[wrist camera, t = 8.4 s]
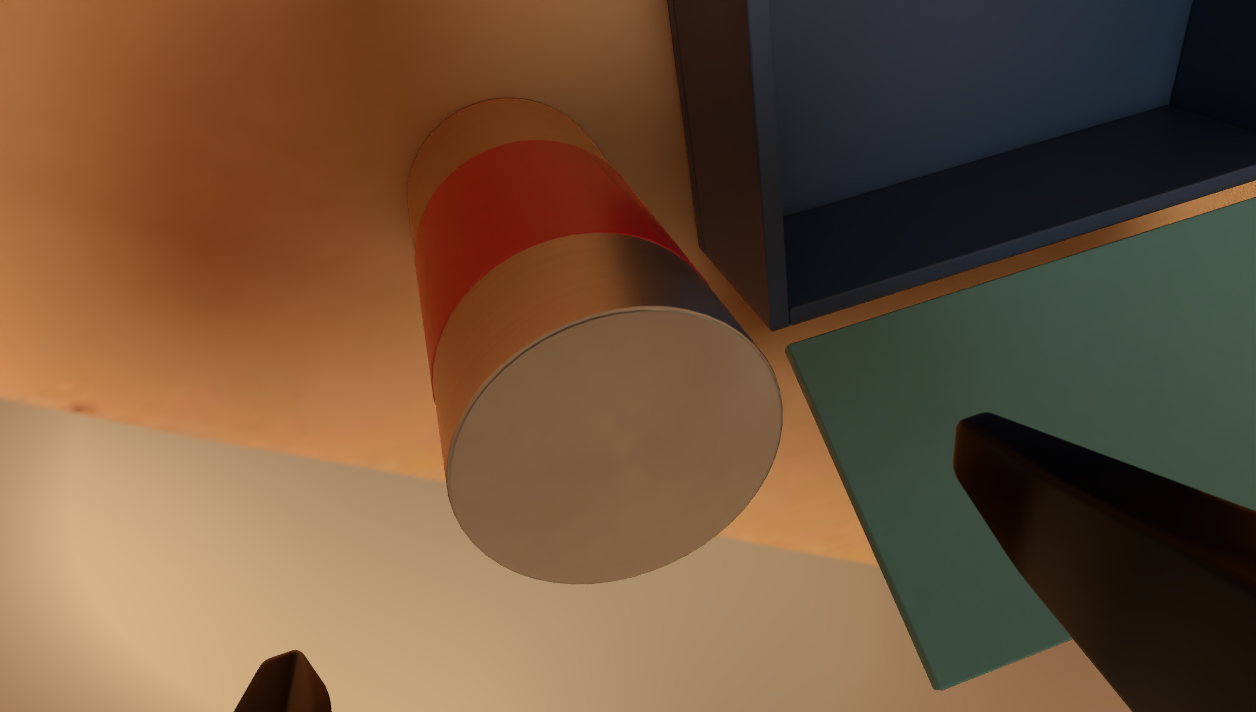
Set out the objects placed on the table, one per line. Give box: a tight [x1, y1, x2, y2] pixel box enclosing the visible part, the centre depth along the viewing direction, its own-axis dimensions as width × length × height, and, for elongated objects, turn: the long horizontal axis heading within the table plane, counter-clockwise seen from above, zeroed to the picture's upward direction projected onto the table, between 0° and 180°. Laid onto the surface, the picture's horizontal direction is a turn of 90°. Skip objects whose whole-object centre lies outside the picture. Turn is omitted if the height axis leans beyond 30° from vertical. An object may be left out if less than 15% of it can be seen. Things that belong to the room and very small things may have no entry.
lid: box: [785, 197, 1256, 690], centre depth 18 cm, size 8×16×1 cm
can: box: [407, 98, 783, 584], centre depth 16 cm, size 5×5×11 cm
